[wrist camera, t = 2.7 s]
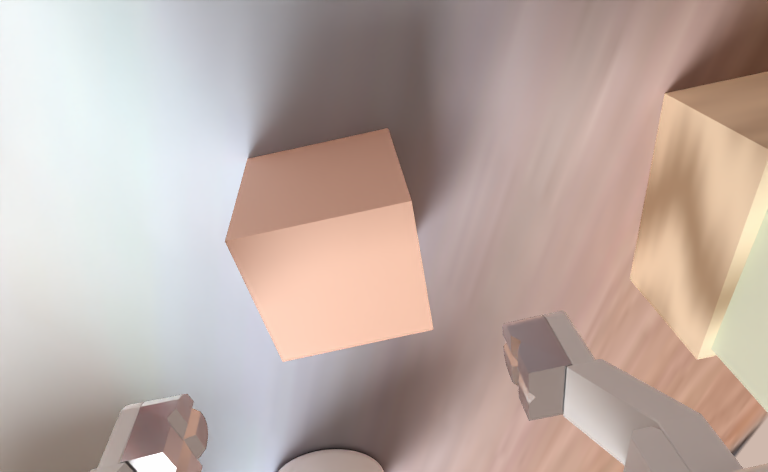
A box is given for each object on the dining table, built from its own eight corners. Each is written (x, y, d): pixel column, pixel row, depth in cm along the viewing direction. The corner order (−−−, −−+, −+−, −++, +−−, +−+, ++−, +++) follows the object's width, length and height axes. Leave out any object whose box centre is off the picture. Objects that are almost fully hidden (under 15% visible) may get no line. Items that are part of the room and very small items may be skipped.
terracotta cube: (247, 157, 16) (224, 241, 12) (388, 127, 16) (411, 200, 12) (290, 265, 19) (282, 361, 15) (408, 239, 19) (433, 329, 15)
